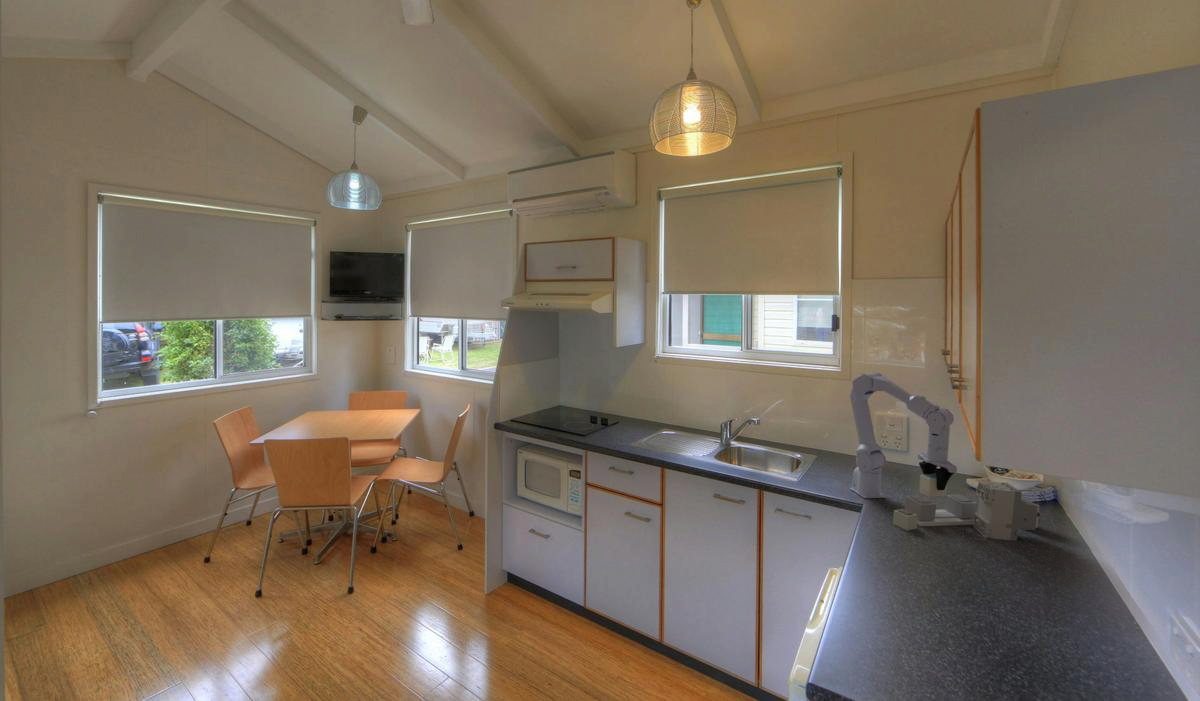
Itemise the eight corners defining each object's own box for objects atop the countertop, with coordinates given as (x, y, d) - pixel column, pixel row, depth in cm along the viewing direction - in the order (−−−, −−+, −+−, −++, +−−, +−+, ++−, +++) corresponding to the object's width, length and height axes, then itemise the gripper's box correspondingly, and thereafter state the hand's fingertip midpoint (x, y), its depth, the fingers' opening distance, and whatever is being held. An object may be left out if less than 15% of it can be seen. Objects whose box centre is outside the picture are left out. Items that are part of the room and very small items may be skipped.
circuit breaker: (1040, 543, 153) (1045, 493, 152) (985, 537, 156) (990, 489, 154) (1025, 531, 160) (1030, 484, 159) (973, 527, 163) (977, 480, 162)
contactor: (892, 524, 165) (893, 509, 164) (901, 522, 166) (903, 507, 166) (907, 530, 160) (908, 515, 160) (916, 529, 162) (917, 513, 161)
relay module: (919, 492, 173) (920, 473, 172) (935, 491, 174) (936, 472, 173) (929, 497, 169) (930, 478, 168) (946, 496, 169) (947, 477, 169)
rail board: (901, 514, 172) (902, 494, 171) (957, 512, 174) (958, 492, 174) (920, 526, 163) (922, 505, 163) (979, 524, 165) (981, 503, 165)
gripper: (910, 440, 176) (908, 479, 178) (943, 453, 162) (940, 495, 163) (930, 440, 177) (927, 479, 178) (964, 452, 163) (960, 494, 164)
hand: (934, 487), depth 171 cm, fingers closed on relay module, 4 cm apart
